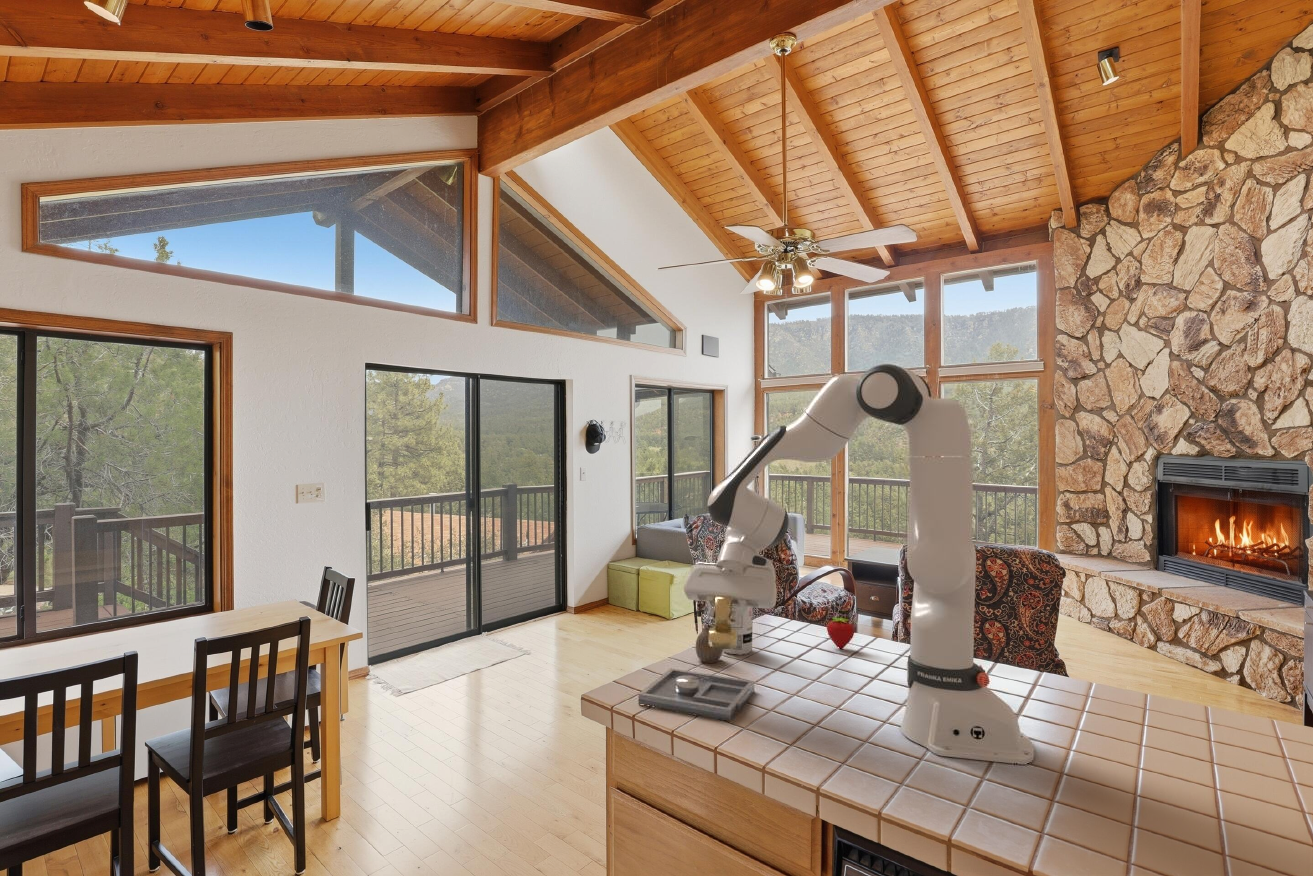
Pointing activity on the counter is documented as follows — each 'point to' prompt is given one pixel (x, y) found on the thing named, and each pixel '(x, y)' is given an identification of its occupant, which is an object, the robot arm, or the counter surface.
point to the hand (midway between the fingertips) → (722, 619)
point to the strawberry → (840, 631)
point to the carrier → (698, 694)
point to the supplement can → (742, 632)
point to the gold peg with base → (723, 625)
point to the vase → (707, 647)
